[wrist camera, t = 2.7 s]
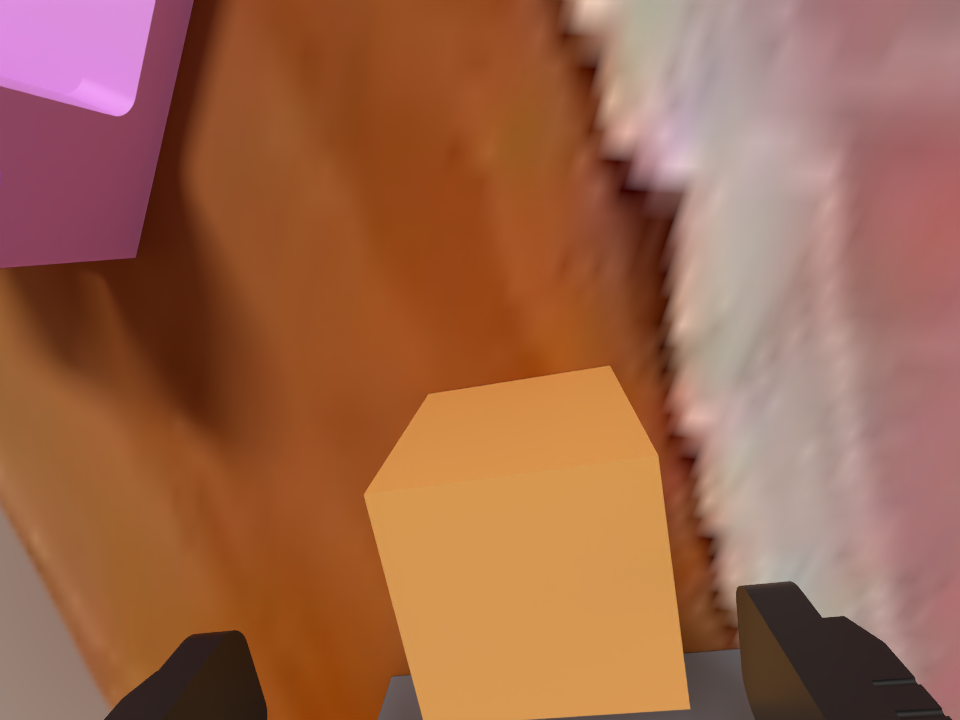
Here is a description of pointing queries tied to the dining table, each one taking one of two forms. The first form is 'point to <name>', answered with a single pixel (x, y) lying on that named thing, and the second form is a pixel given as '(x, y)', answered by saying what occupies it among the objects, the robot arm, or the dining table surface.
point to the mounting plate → (712, 715)
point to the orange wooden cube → (531, 553)
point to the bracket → (82, 123)
